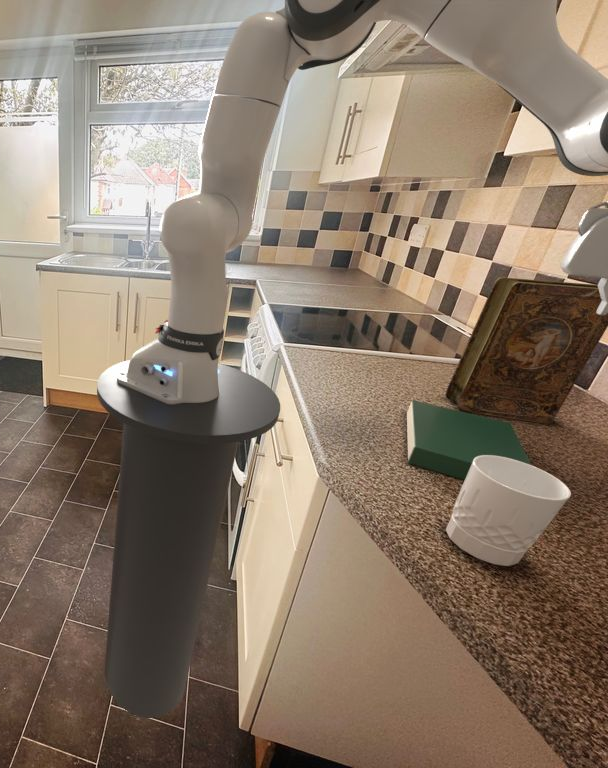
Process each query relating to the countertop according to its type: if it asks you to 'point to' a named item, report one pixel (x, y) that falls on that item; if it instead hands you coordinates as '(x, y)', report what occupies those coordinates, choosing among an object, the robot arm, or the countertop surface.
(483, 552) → the white cup
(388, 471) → the countertop surface
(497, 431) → the hardback
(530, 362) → the book
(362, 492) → the countertop surface
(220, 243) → the robot arm
